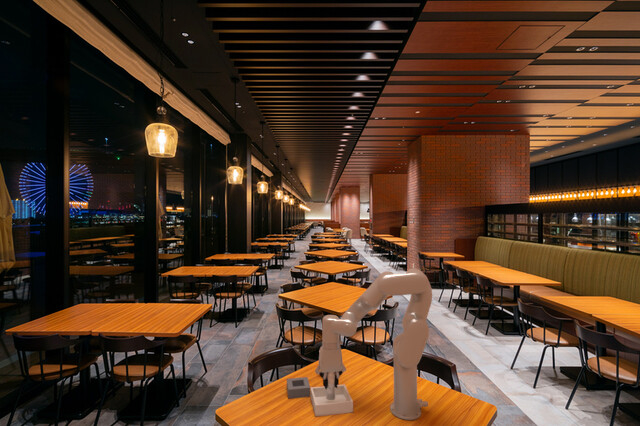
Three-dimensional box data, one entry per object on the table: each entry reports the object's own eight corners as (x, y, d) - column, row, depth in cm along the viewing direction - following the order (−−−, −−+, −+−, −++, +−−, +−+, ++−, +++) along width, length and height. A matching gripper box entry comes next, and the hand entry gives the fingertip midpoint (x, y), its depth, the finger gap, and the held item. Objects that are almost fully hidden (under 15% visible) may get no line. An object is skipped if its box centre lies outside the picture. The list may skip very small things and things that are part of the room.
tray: (344, 394, 145) (344, 384, 145) (353, 412, 131) (353, 401, 131) (310, 397, 142) (310, 387, 142) (315, 416, 128) (315, 405, 128)
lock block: (307, 385, 153) (307, 377, 153) (310, 396, 143) (310, 387, 143) (286, 387, 151) (286, 378, 151) (288, 398, 141) (288, 389, 141)
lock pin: (334, 394, 139) (334, 367, 139) (336, 399, 135) (336, 371, 135) (325, 395, 138) (325, 368, 139) (327, 400, 134) (327, 372, 135)
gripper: (347, 340, 142) (347, 381, 142) (310, 342, 140) (310, 384, 139) (351, 346, 135) (351, 389, 135) (313, 349, 132) (313, 393, 132)
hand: (330, 386), depth 137 cm, fingers closed on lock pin, 4 cm apart
